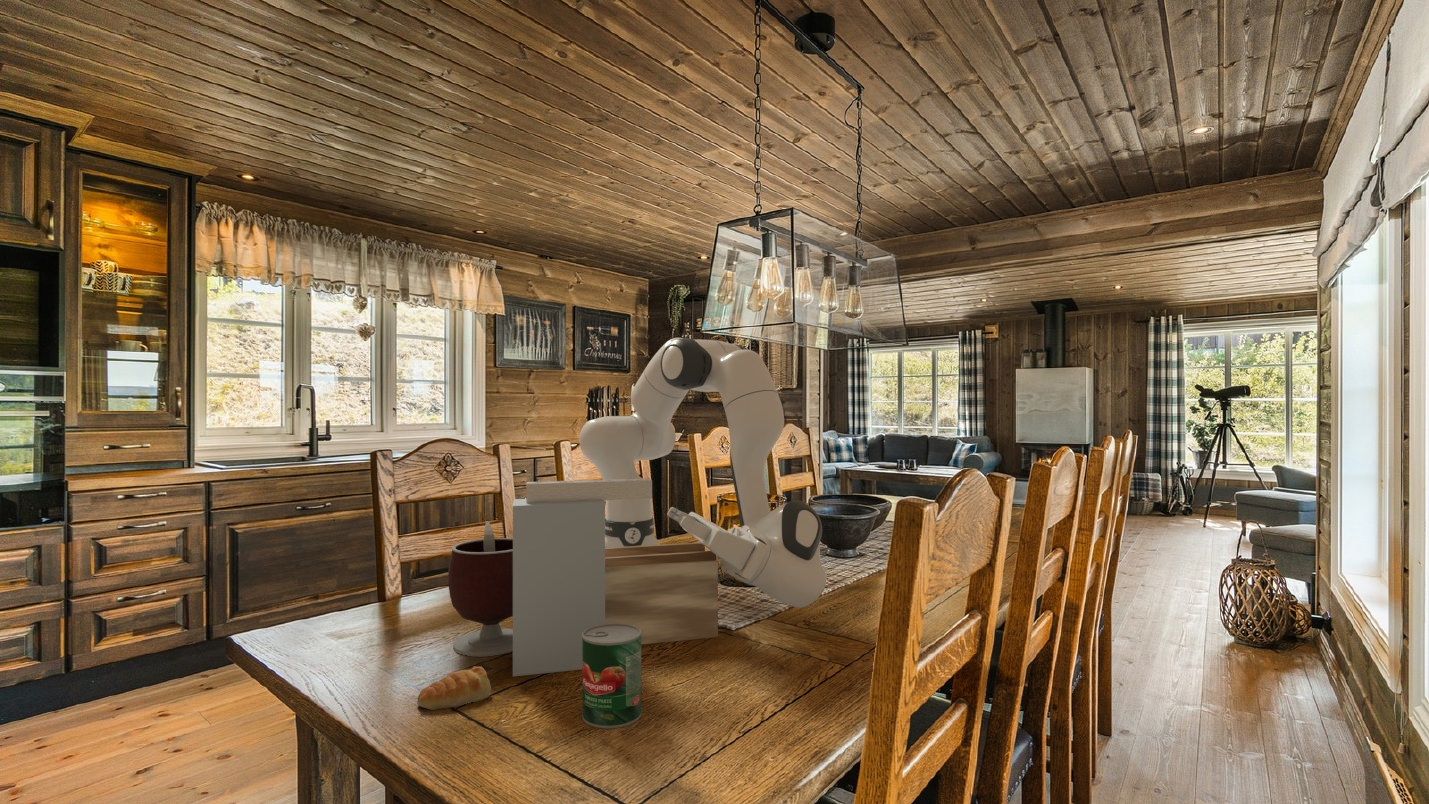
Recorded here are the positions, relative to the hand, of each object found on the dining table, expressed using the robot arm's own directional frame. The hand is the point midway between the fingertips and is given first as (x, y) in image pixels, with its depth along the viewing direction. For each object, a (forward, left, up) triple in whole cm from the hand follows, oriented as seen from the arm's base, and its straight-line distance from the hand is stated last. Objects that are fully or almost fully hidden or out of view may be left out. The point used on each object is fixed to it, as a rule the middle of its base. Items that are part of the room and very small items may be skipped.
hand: (675, 515), depth 114 cm
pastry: (+10, -34, -23) cm, 42 cm away
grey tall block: (0, -19, -23) cm, 30 cm away
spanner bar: (0, -14, +3) cm, 15 cm away
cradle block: (-10, -3, -23) cm, 25 cm away
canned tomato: (+21, -13, -23) cm, 34 cm away
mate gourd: (-13, -30, -23) cm, 40 cm away
